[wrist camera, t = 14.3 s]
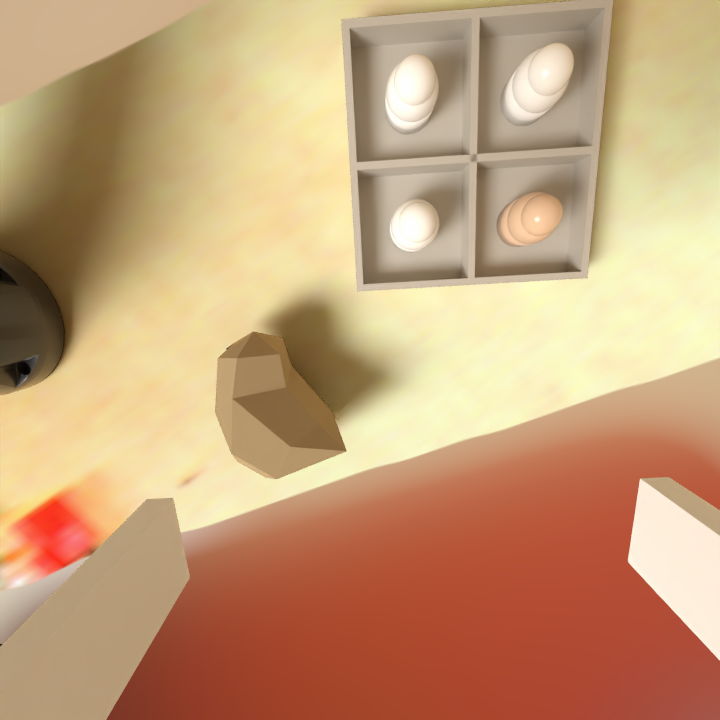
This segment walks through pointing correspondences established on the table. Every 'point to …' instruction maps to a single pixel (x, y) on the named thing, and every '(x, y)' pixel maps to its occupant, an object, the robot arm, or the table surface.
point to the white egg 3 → (537, 84)
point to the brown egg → (529, 219)
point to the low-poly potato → (271, 410)
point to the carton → (474, 142)
